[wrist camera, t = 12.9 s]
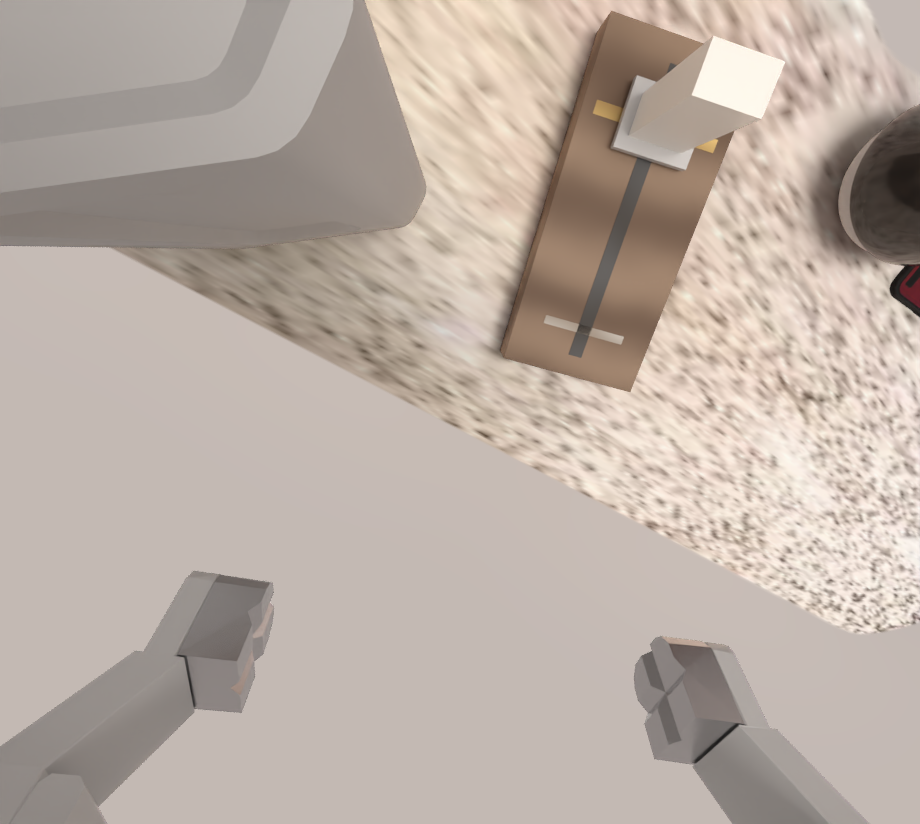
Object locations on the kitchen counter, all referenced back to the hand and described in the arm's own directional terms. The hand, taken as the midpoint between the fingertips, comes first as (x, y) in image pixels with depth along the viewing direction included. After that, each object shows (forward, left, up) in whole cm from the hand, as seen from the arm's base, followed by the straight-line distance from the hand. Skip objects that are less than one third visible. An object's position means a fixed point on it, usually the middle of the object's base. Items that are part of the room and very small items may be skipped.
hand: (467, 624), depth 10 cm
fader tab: (+4, +20, -26) cm, 33 cm away
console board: (+5, +14, -30) cm, 33 cm away
